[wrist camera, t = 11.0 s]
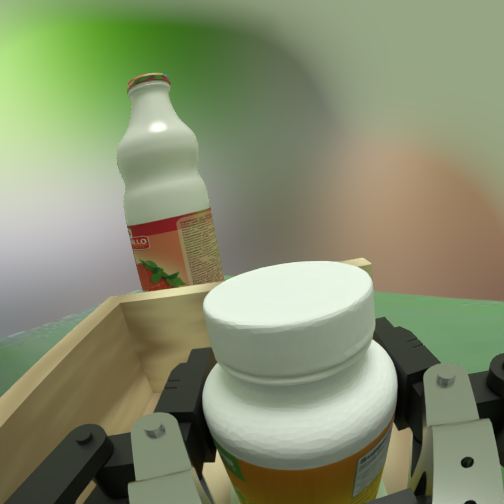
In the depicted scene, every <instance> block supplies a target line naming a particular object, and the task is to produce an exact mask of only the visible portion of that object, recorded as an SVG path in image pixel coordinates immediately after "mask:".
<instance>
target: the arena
mask: <svg viewBox="0 0 504 504" xmlns="http://www.w3.org/2000/svg"><path fill="white" fill-rule="evenodd" d="M339 263H344V264H349V265H353V266H356V267H358V268H360V269H362V270H364V271H365V272H367V273H368V275H369V276H370V278H371V280H372V264H371V263H370V262H368V261H367V260H366V259H364V258H358V259H353V260H347V261H341V262H339ZM222 282H224V281H220V282H213V283H206V284H200V285H193V286H186V287H179V288H172V289H165V290H158V291H150V292H143V293H135V294H128V295H121V296H113V297H110V298H108V299H107V300H106V301H105V302H104V303H102V304H101V305H100V306H99V307H98V308H97V309H95V310H94V311H93V312H92V313H91V314H90V315H89V316H87V317H86V318H85V319H84V320H83V321H82V322H81V323H79V324H78V325H77V326H76V327H75V328H74V329H73V330H72V331H70V332H69V333H68V334H67V335H66V336H65V337H64V338H63V339H62V340H60V341H59V342H58V343H57V344H56V345H55V346H54V347H53V348H52V349H51V350H50V351H48V352H47V353H46V354H45V355H44V356H43V357H42V358H41V359H40V360H39V361H38V362H37V363H36V364H35V365H34V366H32V367H31V368H30V369H29V370H28V371H27V372H26V373H25V374H24V375H23V376H22V377H21V378H20V379H19V380H18V381H17V382H16V383H15V384H14V385H13V386H12V387H11V388H10V389H9V390H8V391H7V392H6V393H5V394H4V395H3V396H2V397H1V398H0V504H3V503H4V502H5V501H6V500H7V499H8V498H9V497H10V496H11V495H12V494H13V493H14V492H15V491H16V489H17V488H18V487H19V486H20V485H21V484H22V483H23V482H24V481H25V480H26V479H27V478H28V477H29V475H30V474H31V473H32V472H33V471H34V470H35V469H36V468H37V467H38V466H39V465H40V464H41V463H42V462H43V460H44V459H45V458H46V457H47V456H48V455H49V454H50V453H51V452H52V451H53V450H54V449H55V448H56V447H57V446H58V444H59V443H60V442H61V441H62V440H63V439H64V438H65V437H66V436H67V435H68V434H69V433H70V432H71V431H72V430H73V429H75V428H77V427H78V426H81V425H84V424H97V425H99V426H101V427H102V428H103V429H104V430H105V432H106V434H107V435H108V436H111V435H117V434H123V433H128V432H131V428H132V426H133V424H134V423H135V422H136V421H137V420H138V419H140V418H141V417H143V416H145V415H148V414H151V413H153V412H154V410H155V407H156V405H157V403H158V400H159V398H160V396H161V393H162V391H163V389H164V386H165V384H166V382H167V379H168V377H169V375H170V373H171V371H172V370H173V369H174V368H175V367H176V366H177V365H178V364H179V363H187V360H188V357H189V355H190V352H191V350H192V349H196V348H206V347H211V344H210V340H209V335H208V331H207V326H206V321H205V317H204V312H203V302H204V299H205V297H206V296H207V294H208V293H209V292H210V291H211V290H212V289H213V288H215V287H216V286H218V285H219V284H221V283H222ZM372 283H373V280H372ZM411 435H412V431H411V429H410V427H409V428H406V429H403V430H400V431H398V430H397V428H396V426H395V424H394V422H393V427H392V432H391V438H390V443H389V447H388V452H387V457H386V462H385V466H384V470H383V474H382V478H381V481H380V485H379V489H378V493H377V496H376V499H377V498H381V497H384V496H387V495H390V494H393V493H396V492H399V491H402V490H404V489H406V488H407V482H408V471H409V457H410V439H411ZM202 473H203V475H204V477H205V479H206V482H207V484H208V487H209V489H210V491H211V494H212V496H213V498H214V501H215V503H216V504H241V503H240V501H239V499H238V497H237V494H236V492H235V490H234V488H233V486H232V483H231V481H230V479H229V476H228V474H227V472H226V469H225V467H224V465H223V462H222V460H221V457H220V455H219V453H218V450H217V452H216V459H215V463H204V465H203V471H202ZM95 487H96V484H95V483H94V482H93V481H92V480H91V482H90V483H89V484H88V486H87V487H86V488H85V490H84V491H83V492H82V494H81V495H80V496H79V497H78V499H77V500H76V503H75V504H83V503H84V501H85V500H86V499H87V497H88V496H89V495H90V493H91V492H92V491H93V489H94V488H95Z"/></svg>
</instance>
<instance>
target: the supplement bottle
mask: <svg viewBox="0 0 504 504" xmlns="http://www.w3.org/2000/svg"><path fill="white" fill-rule="evenodd" d="M203 312H204V317H205V321H206V326H207V331H208V335H209V340H210V344H211V347H212V350H213V352H214V356H215V359H216V361H217V364H216V365H215V366H214V368H213V369H212V370H211V372H210V373H209V375H208V377H207V379H206V382H205V385H204V389H203V395H202V406H203V412H204V416H205V419H206V422H207V425H208V428H209V431H210V433H211V436H212V438H213V441H214V443H215V446H216V448H217V450H218V453H219V455H220V457H221V460H222V462H223V465H224V467H225V469H226V472H227V474H228V476H229V479H230V481H231V483H232V486H233V488H234V490H235V492H236V494H237V497H238V499H239V501H240V503H241V504H364V503H366V502H368V501H371V500H374V499H376V496H377V493H378V489H379V485H380V481H381V478H382V474H383V470H384V466H385V462H386V457H387V452H388V447H389V443H390V438H391V432H392V427H393V421H394V416H395V410H396V403H397V389H398V384H397V374H396V370H395V367H394V364H393V361H392V360H391V358H390V356H389V355H388V354H387V352H386V351H385V350H384V349H383V348H382V347H381V346H380V345H379V344H378V343H377V342H375V341H374V340H373V339H372V338H373V333H374V330H375V309H374V293H373V283H372V280H371V278H370V276H369V275H368V273H367V272H365V271H364V270H362V269H360V268H358V267H356V266H353V265H349V264H344V263H339V262H330V261H307V262H294V263H287V264H281V265H274V266H270V267H264V268H260V269H257V270H253V271H250V272H246V273H243V274H241V275H238V276H235V277H233V278H230V279H228V280H226V281H224V282H222V283H221V284H219V285H218V286H216V287H215V288H213V289H212V290H211V291H210V292H209V293H208V294H207V296H206V297H205V299H204V302H203Z"/></svg>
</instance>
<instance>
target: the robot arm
mask: <svg viewBox="0 0 504 504" xmlns="http://www.w3.org/2000/svg"><path fill="white" fill-rule="evenodd" d="M372 339H373V340H374V341H375V342H377V343H378V344H379V345H380V346H381V347H382V348H383V349H384V350H385V351H386V352H387V354H388V355H389V356H390V358H391V360H392V361H393V364H394V367H395V370H396V374H397V384H398V389H397V403H396V410H395V416H394V421H393V422H394V424H395V426H396V428H397V430H398V431H400V430H403V429H406V428H409V427H410V429H411V431H412V435H411V439H410V457H409V471H408V482H407V488H406V489H404V490H402V491H399V492H396V493H393V494H390V495H387V496H384V497H381V498H377V499H374V500H371V501H368V502H366V503H364V504H504V492H503V483H502V475H501V468H500V464H501V465H502V466H503V467H504V353H503V354H499V355H497V356H496V357H494V358H493V359H492V361H491V363H490V367H489V371H484V372H478V373H473V374H467V372H466V370H465V369H464V368H462V367H461V366H459V365H456V364H452V363H441V362H440V361H439V360H438V359H437V358H436V357H435V356H434V355H433V354H432V353H431V352H430V351H429V350H428V349H427V348H426V347H425V346H423V344H422V343H421V341H420V340H417V337H416V336H415V335H414V334H413V333H412V332H411V331H409V330H407V329H404V328H402V327H400V326H399V327H395V328H394V326H393V325H392V324H391V323H390V322H389V321H388V320H387V319H386V318H385V317H381V318H377V319H375V330H374V333H373V338H372ZM216 364H217V361H216V359H215V356H214V352H213V350H212V347H206V348H196V349H192V350H191V352H190V355H189V357H188V360H187V363H179V364H178V365H177V366H176V367H175V368H174V369H173V370H172V371H171V373H170V375H169V377H168V379H167V382H166V384H165V386H164V389H163V391H162V393H161V396H160V398H159V400H158V403H157V405H156V407H155V410H154V412H153V413H151V414H148V415H145V416H143V417H141V418H140V419H138V420H137V421H136V422H135V423H134V424H133V426H132V428H131V432H128V433H123V434H117V435H111V436H108V435H107V434H106V432H105V430H104V429H103V428H102V427H101V426H99V425H97V424H84V425H81V426H78V427H77V428H75V429H73V430H72V431H71V432H70V433H69V434H68V435H67V436H66V437H65V438H64V439H63V440H62V441H61V442H60V443H59V444H58V446H57V447H56V448H55V449H54V450H53V451H52V452H51V453H50V454H49V455H48V456H47V457H46V458H45V459H44V460H43V462H42V463H41V464H40V465H39V466H38V467H37V468H36V469H35V470H34V471H33V472H32V473H31V474H30V475H29V477H28V478H27V479H26V480H25V481H24V482H23V483H22V484H21V485H20V486H19V487H18V488H17V489H16V491H15V492H14V493H13V494H12V495H11V496H10V497H9V498H8V499H7V500H6V501H5V502H4V503H3V504H75V503H76V500H77V499H78V497H79V496H80V495H81V494H82V492H83V491H84V490H85V488H86V487H87V486H88V484H89V483H90V482H91V480H92V481H93V482H94V483H95V484H96V487H95V488H94V489H93V491H92V492H91V493H90V495H89V496H88V497H87V499H86V500H85V501H84V503H83V504H216V503H215V501H214V498H213V496H212V494H211V491H210V489H209V487H208V484H207V482H206V479H205V477H204V475H203V473H202V471H203V465H204V463H215V459H216V452H217V448H216V446H215V443H214V441H213V438H212V436H211V433H210V431H209V428H208V425H207V422H206V419H205V416H204V412H203V406H202V395H203V389H204V385H205V382H206V379H207V377H208V375H209V373H210V372H211V370H212V369H213V368H214V366H215V365H216Z"/></svg>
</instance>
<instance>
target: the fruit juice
mask: <svg viewBox="0 0 504 504" xmlns="http://www.w3.org/2000/svg"><path fill="white" fill-rule="evenodd" d="M127 89H128V90H127V92H128V97H129V98H130V99H131V102H132V109H131V116H130V121H129V126H128V129H127V131H126V133H125V135H124V136H123V138H122V140H121V142H120V144H119V146H118V149H117V165H118V168H119V171H120V173H121V175H122V178H123V180H124V182H125V195H124V211H125V218H126V224H127V228H128V232H129V237H130V241H131V245H132V249H133V254H134V258H135V262H136V266H137V270H138V274H139V278H140V282H141V285H142V289H143V292H150V291H158V290H165V289H172V288H179V287H186V286H193V285H200V284H206V283H213V282H220V281H225V280H224V275H223V270H222V266H221V260H220V255H219V250H218V245H217V240H216V235H215V230H214V225H213V220H212V214H211V207H210V201H209V197H208V193H207V189H206V186H205V183H204V181H203V180H202V178H201V177H200V175H199V172H198V156H199V147H198V143H197V139H196V137H195V135H194V133H193V132H192V130H191V129H190V128H189V127H188V126H186V125H185V124H184V123H183V122H182V121H181V120H180V119H179V118H178V116H177V114H176V113H175V111H174V109H173V107H172V105H171V102H170V99H169V95H168V92H169V91H170V81H169V78H168V76H167V75H165V74H162V73H150V74H144V75H141V76H138V77H136V78H134V79H132V80H131V81H130V82H129V83H128V88H127Z"/></svg>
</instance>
